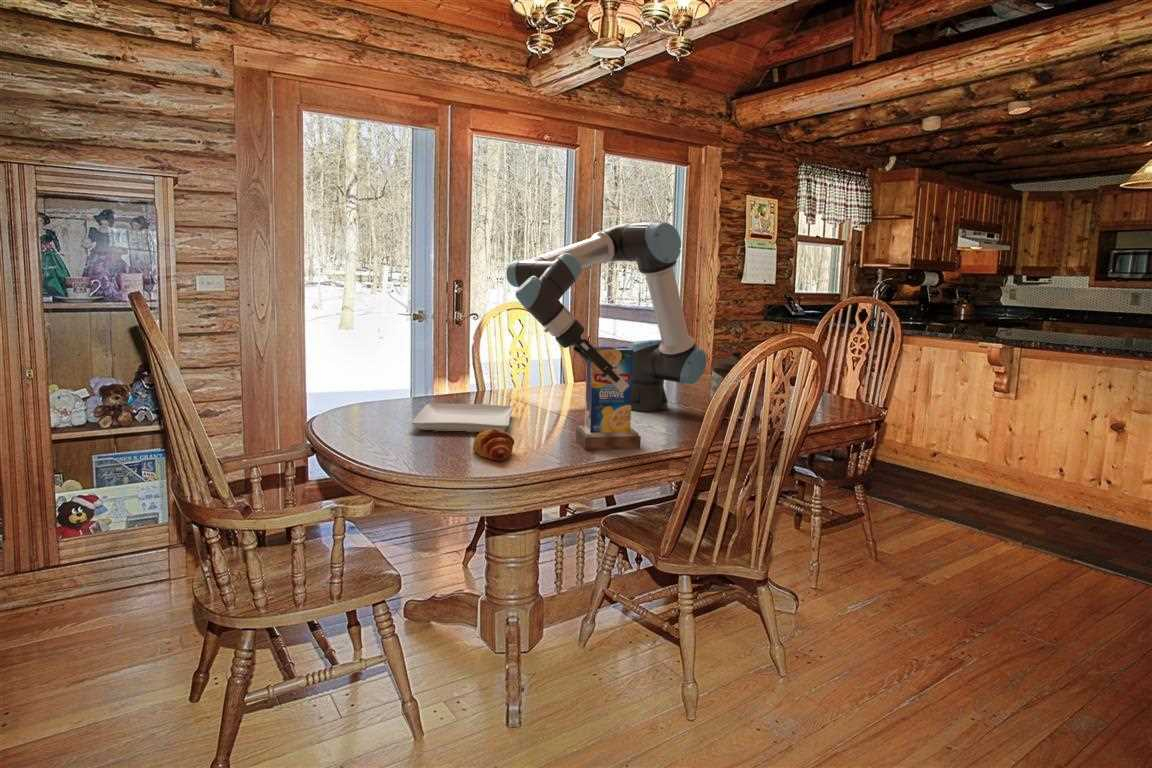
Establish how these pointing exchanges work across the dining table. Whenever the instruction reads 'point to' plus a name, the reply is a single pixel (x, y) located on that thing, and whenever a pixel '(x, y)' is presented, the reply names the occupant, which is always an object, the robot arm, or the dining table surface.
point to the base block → (607, 439)
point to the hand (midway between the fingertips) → (618, 384)
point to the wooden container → (719, 372)
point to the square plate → (463, 417)
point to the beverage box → (609, 393)
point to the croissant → (493, 444)
